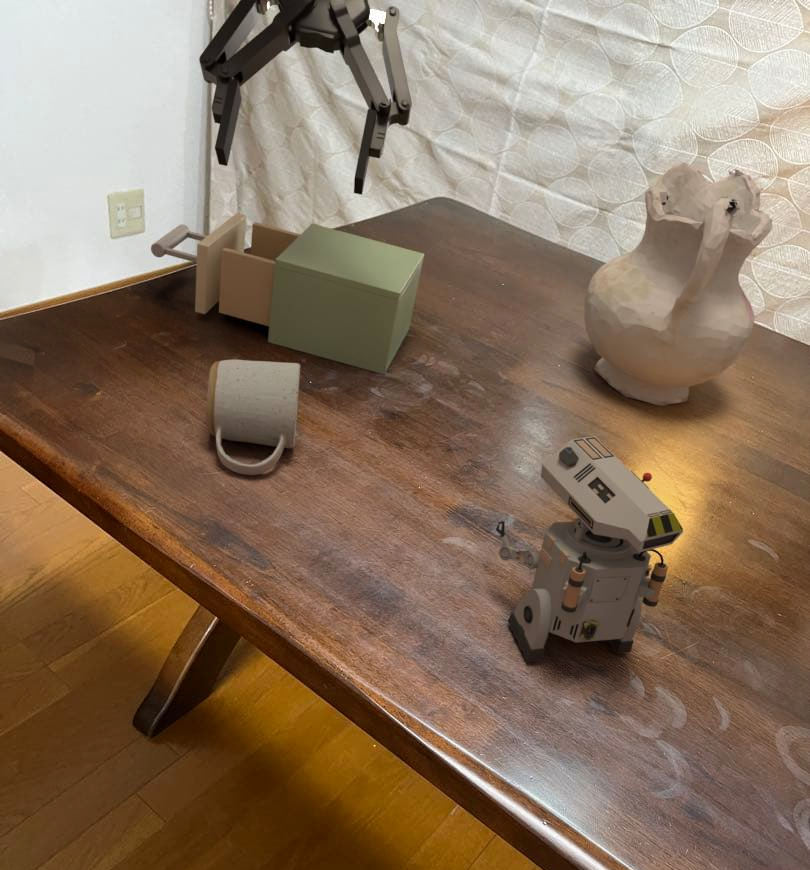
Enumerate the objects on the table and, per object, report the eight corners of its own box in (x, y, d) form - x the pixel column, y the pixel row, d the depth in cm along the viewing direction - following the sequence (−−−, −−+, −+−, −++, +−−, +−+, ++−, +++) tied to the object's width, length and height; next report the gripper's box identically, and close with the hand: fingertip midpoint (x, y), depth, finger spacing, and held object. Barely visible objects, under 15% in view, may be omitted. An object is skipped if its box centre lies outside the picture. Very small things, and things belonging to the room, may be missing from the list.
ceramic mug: (211, 409, 83) (214, 338, 79) (296, 419, 85) (304, 349, 80) (199, 474, 75) (202, 399, 71) (293, 484, 77) (302, 411, 72)
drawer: (141, 296, 97) (141, 228, 92) (184, 263, 106) (185, 198, 101) (301, 341, 96) (309, 274, 91) (330, 303, 105) (339, 240, 100)
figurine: (576, 570, 75) (636, 424, 65) (636, 670, 66) (716, 519, 57) (479, 575, 72) (528, 423, 62) (530, 680, 64) (595, 523, 54)
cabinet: (267, 342, 96) (275, 259, 90) (302, 300, 106) (311, 223, 100) (384, 374, 95) (400, 293, 89) (409, 329, 105) (424, 253, 99)
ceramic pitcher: (734, 452, 99) (860, 243, 84) (575, 413, 95) (677, 189, 80) (686, 363, 116) (784, 176, 100) (549, 328, 112) (630, 129, 97)
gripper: (198, -117, 74) (145, 117, 72) (470, -53, 76) (427, 178, 73) (211, -49, 81) (163, 165, 79) (457, 8, 83) (418, 219, 81)
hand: (290, 172), depth 76 cm, fingers open, 11 cm apart
